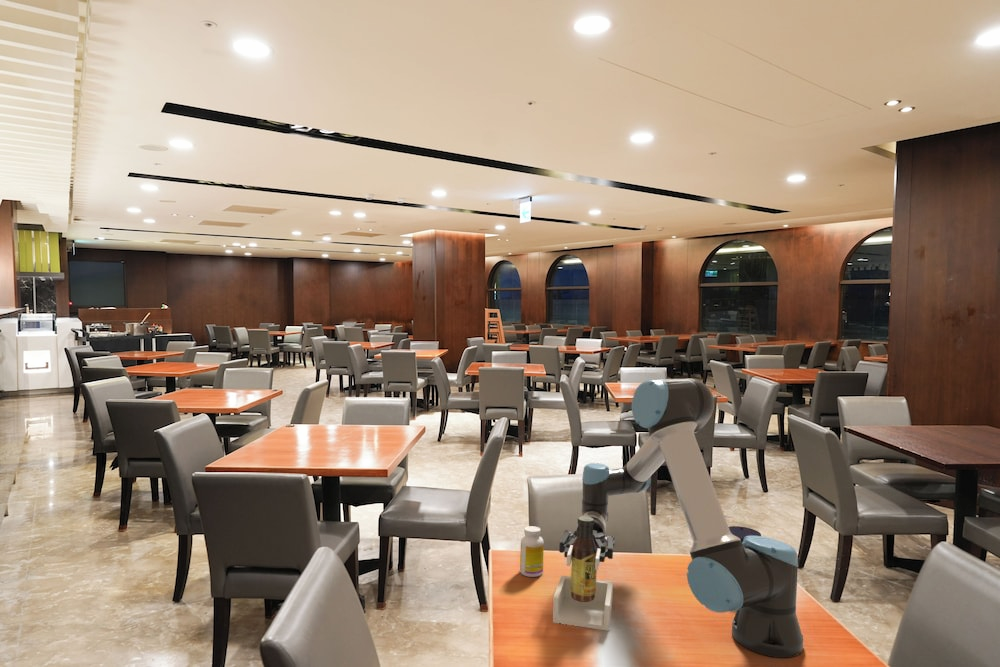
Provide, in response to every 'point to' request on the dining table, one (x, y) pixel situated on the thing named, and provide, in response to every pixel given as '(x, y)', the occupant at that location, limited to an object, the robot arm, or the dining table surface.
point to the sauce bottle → (584, 562)
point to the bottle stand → (583, 606)
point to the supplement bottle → (531, 552)
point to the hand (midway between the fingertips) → (582, 562)
